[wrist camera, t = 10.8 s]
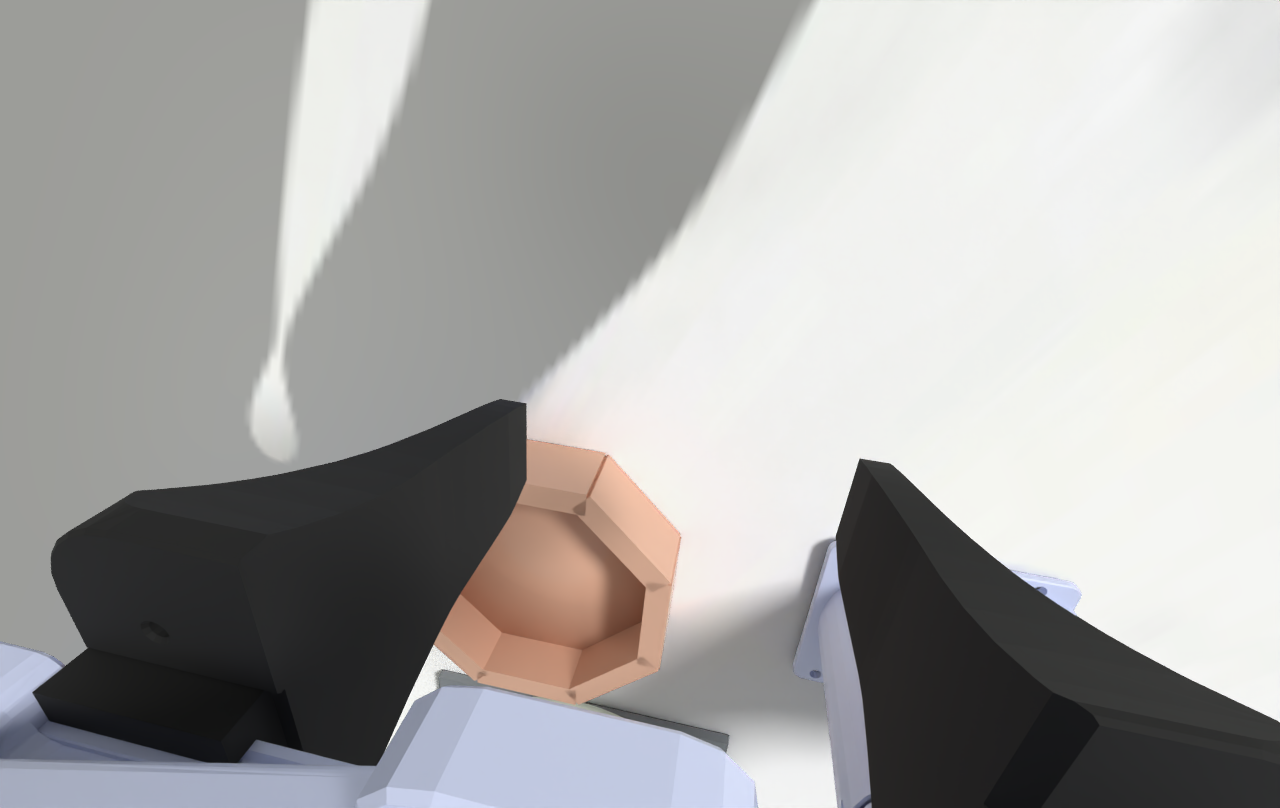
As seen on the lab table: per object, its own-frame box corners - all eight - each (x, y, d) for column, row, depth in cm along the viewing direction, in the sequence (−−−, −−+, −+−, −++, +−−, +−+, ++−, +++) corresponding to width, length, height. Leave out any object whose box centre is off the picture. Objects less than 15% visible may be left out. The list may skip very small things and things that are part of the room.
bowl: (691, 467, 24) (682, 512, 21) (661, 667, 29) (651, 722, 26) (416, 420, 25) (375, 456, 22) (437, 618, 31) (406, 666, 28)
